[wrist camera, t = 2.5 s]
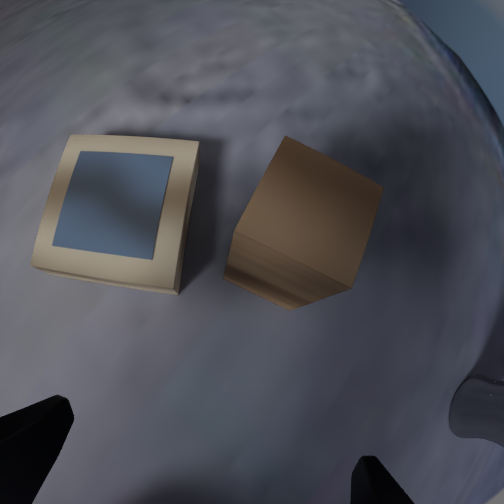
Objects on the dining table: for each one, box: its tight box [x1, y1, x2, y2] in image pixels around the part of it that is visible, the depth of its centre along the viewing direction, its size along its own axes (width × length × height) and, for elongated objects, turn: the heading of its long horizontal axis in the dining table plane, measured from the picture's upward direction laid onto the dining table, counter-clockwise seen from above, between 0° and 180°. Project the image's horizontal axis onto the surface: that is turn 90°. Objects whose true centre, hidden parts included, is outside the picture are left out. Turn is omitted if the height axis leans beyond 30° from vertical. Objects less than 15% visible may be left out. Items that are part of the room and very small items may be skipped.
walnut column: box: [223, 136, 384, 310], centre depth 17 cm, size 5×5×10 cm
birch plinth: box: [31, 135, 200, 295], centre depth 20 cm, size 10×10×3 cm
